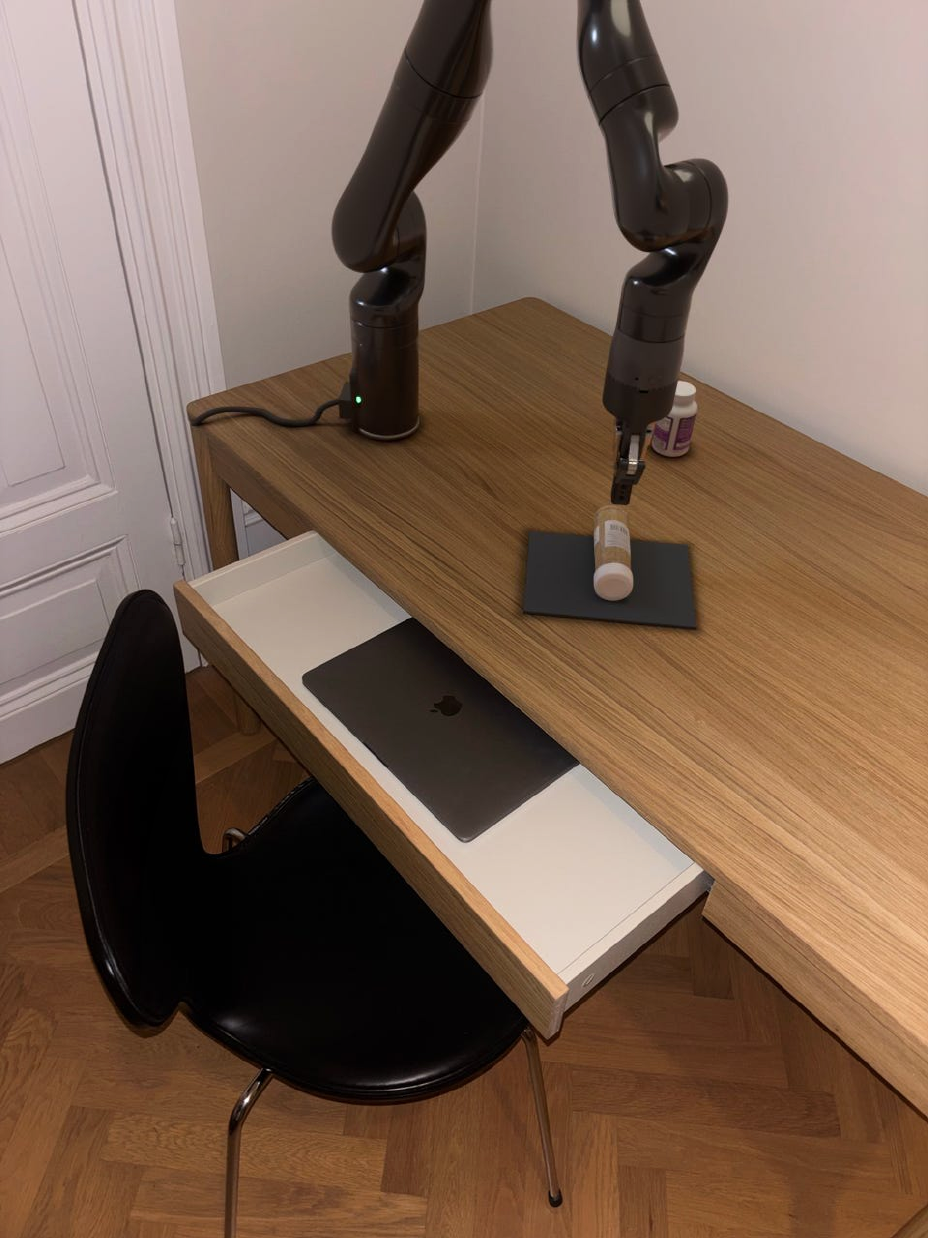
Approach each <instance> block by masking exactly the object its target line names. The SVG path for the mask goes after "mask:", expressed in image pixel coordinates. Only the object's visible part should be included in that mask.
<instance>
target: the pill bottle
mask: <svg viewBox="0 0 928 1238" xmlns="http://www.w3.org/2000/svg"><path fill="white" fill-rule="evenodd" d="M696 394H697V388H696V386H695V385H693V384H692V383H691V382H687V381H684V380H678V383H677V388H676V393H675V398H674V402H673V407H672V410H671V412H670V414H669V415H668V416H667V417H665V418H664V419H662V420H660V421H656V422H654V428H653V431H652V437H651V447H652V448H653V450H654V451H655V452H656V453H658V454H659V455H662V456H665V457H669V458H675V457H681V456H683V455H685V454H687V453H688V451H689V449H690V445H691V441H692V436H693V433H694V428H695V423H696V419H697V414H698V404H697V402H696V400H695V399H696Z"/></svg>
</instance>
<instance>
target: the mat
mask: <svg viewBox="0 0 928 1238" xmlns="http://www.w3.org/2000/svg"><path fill="white" fill-rule="evenodd" d="M527 546H528V548H527V557H526V558H527V559H526V571H525V583H524V596H523V607H522V614H526V615H537V616H538V615H539V616H547V617H559V618H570V619H581V620H590V621H601V622H602V621H604V622H611V623H621V624H633V625H644V626H655V627H667V628H676V629H688V630H697V617H696V609H695V601H694V591H693V582H692V581H693V580H692V571H691V564H690V563H691V562H690V554H689V546H688V544H683V543H669V542H659V541H648V540H635V539H630V551H631V572H632V574H633V589H632V591H631V593H630V594H629V595H628V596H627V597H625V598H623V599H620V600H615V601H611V600H606V599H603V598H601V597H600V596H599V595H598V594H597V593H596V591H595V589H594V574H595V555H594V536H591V535H581V534H580V535H579V534H571V533H570V534H568V533H557V532H547V531H546V532H545V531H536V530H535V531H534V530H529V535H528V545H527Z"/></svg>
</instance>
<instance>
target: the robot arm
mask: <svg viewBox="0 0 928 1238" xmlns="http://www.w3.org/2000/svg"><path fill="white" fill-rule="evenodd" d="M576 1H577V2H576V3H577V5H576V6H577V9H576V11H577V15H576V16H577V17H576V33H575V34H576V35H575V37H576V39H575V40H576V41H575V46H576V47H575V48H576V49H575V51H576V61H577V67H578V72H579V76H580V79H581V83H582V86H583V89H584V92H585V95H586V97H587V101H588V103H589V105H590V107H591V110H592V113H593V115H594V118H595V121H596V124H597V125H598V126H597V127H599V128H598V129H599V131H600V133H601V136H602V137H603V140H604V146H605V147H604V148H605V155H606V165H607V166H606V167H607V172H608V179H609V186H610V187H609V189H610V197H611V204H612V212H613V216H614V219H615V223H616V225H617V228H618V230H619V231H620V233H621V235H622V236H623V238H624V239H625V240H626V241H627V242H628V244H629V245H631V246H632V247H633V248H634V249H636V250H638V251H640V252H642V253H648V254H647V255H646V256H645V257H643V259H641V260H640V261H639V262H637V263H636V264H634V265H633V266H632V267H630V268H629V269H628V270H627V272H626V273H625V275H624V278H623V281H622V284H621V290H620V296H619V303H618V309H617V315H616V317H617V318H616V322H615V326H614V329H613V333H612V336H611V340H610V345H609V352H608V359H607V365H606V371H605V377H604V385H603V391H602V405H603V406H604V409H605V410H606V411H607V412H608V413H609V414H610V415H611V416H613V417H614V418H613V430H614V432H613V440H612V468H613V471H612V472H613V473H612V482H611V487H610V503H611V505H616V506H618V505H621V506H627V505H629V504H630V502H631V498H632V492H633V488H634V487H633V486H637V485H638V484H639V481H640V479H641V477H642V476H643V474H644V471H645V469H646V464H645V463H646V462H645V461H646V460H645V459H646V456H647V455H646V454H647V449H648V447H649V446H650V445H651V443H652V438H653V428H651V425H652V424H653V423H655V422H656V421H660V420H662V419H664V418H665V417H667V416H668V415H669V414H670V412H671V410H672V407H673V402H674V398H675V393H676V388H677V383H678V381H679V378H680V373H681V368H682V365H683V364H682V363H683V360H684V354H685V342H686V333H687V332H686V331H687V327H688V322H689V318H690V313H691V309H692V302H693V296H694V293H695V291H696V289H697V287H698V284H699V282H700V281H701V279H702V277H703V275H704V273H705V271H706V270H707V269H706V268H707V267H708V264H709V263H710V260H711V258H712V256H713V253H714V251H715V249H716V247H717V245H718V244H719V243H718V242H719V241H720V238H721V235H722V234H723V230H724V227H725V224H726V222H727V217H728V212H729V211H728V210H729V201H730V200H729V197H730V196H729V188H728V183H727V180H726V177H725V174H724V173H723V171H722V170H721V168H720V167H719V166H718V165H717V164H716V163H714V162H713V161H712V160H709V159H706V158H701V157H695V158H689V159H684V160H680V161H677V162H672V163H668V164H665V165H664V164H663V163H662V160H661V155H660V154H661V153H660V145H659V144H660V143H661V142H662V141H664V140H666V138H668V137H669V136H670V135H671V134H672V132H673V131H674V130H675V129H676V128H677V125H678V123H679V119H680V112H679V111H680V110H679V105H678V103H677V99H676V97H675V96H676V95H675V93H674V91H673V89H672V86H671V83H670V81H669V77H668V75H667V73H666V71H665V68H664V65H663V62H662V60H661V57H660V54H659V51H658V50H657V46H656V43H655V42H654V38H653V36H652V34H651V30H650V27H649V25H648V21H647V19H646V16H645V12H644V10H643V7H642V2H641V0H576ZM494 37H495V36H494V25H493V0H423V2H422V4H421V7H420V9H419V13H418V15H417V18H416V20H415V21H414V25H413V27H412V29H411V32H410V34H409V36H408V38H407V40H406V42H405V46H404V47H403V51H402V53H401V55H400V58H399V61H398V64H397V66H396V69H395V71H394V74H393V77H392V80H391V83H390V86H389V89H388V91H387V95H386V97H385V100H384V101H383V104H382V107H381V109H380V111H379V113H378V116H377V118H376V122H375V123H374V126H373V129H372V131H371V134H370V137H369V139H368V142H367V144H366V146H365V150H364V151H363V154H362V155H361V158H360V160H359V162H358V164H357V166H356V168H355V170H354V171H353V173H352V175H351V177H350V179H349V181H348V183H347V185H346V186H345V188H344V190H343V192H342V193H341V195H340V197H339V199H338V202H337V203H336V206H335V208H334V210H333V213H332V218H331V222H330V223H331V225H330V237H331V242H332V247H333V249H334V252H335V255H336V257H337V259H338V261H340V263H341V264H342V265H343V266H344V267H346V268H347V269H348V270H350V271H352V272H354V273H358V274H361V275H360V277H359V278H358V280H357V281H356V282H355V283H354V285H353V286H352V287H351V289H350V291H349V294H348V311H349V312H348V313H349V329H350V330H349V331H350V346H351V348H350V349H351V350H350V351H351V365H350V369H349V372H348V381H344V384H343V386H342V389H341V392H340V394H339V396H338V397H337V398H334V399H331V400H328V401H326V402H324V403H322V404H321V405H320V406H319V407H318V408H317V409H316V410H315V413H314V415H313V416H312V417H310V418H307V419H301V420H299V419H289V418H284V417H280V416H277V415H275V414H273V413H271V412H270V411H268V410H267V409H264V408H260V407H253V406H237V405H236V406H235V405H234V406H233V405H230V406H229V405H228V406H220V407H214V408H212V409H208V410H207V411H204V412H203V413H201V414H200V415H198V416H197V417H196V418H195V419H194V420H192V422H191V424H190V426H192V427H196V426H199V425H200V424H201V423H202V422H203V421H205V420H206V419H209V418H210V417H214V416H215V415H219V414H225V413H243V414H256V415H261V416H263V417H265V418H267V419H268V420H270V421H271V422H274V423H276V424H280V425H286V426H292V427H293V426H294V427H306V426H310V425H313V424H315V423H317V422H318V421H319V420H320V419H321V417H322V415H323V413H324V412H325V411H326V410H328V409H330V408H332V407H335V406H338V414H339V415H338V417H339V419H341V420H343V419H344V420H351V430H352V432H353V433H358V434H361V435H362V436H363V437H366V438H368V439H371V440H377V441H384V442H385V441H388V442H389V441H390V442H391V441H396V440H402V439H405V438H408V437H410V436H411V435H413V434H414V433H416V432H417V430H418V429H419V427H420V409H419V407H420V405H419V403H420V402H419V401H420V399H419V398H420V397H419V393H420V392H419V391H420V390H419V389H420V388H419V387H420V386H419V385H420V383H419V378H420V377H419V376H420V375H419V374H420V373H419V372H420V371H419V369H420V367H419V366H420V365H419V363H420V362H419V361H420V359H419V357H420V356H419V355H420V351H419V350H420V349H419V348H420V347H419V345H420V344H419V339H420V335H419V325H420V324H419V317H420V316H419V305H420V301H421V298H422V297H423V294H424V291H425V284H426V271H427V270H426V267H427V251H428V228H427V227H428V226H427V218H426V213H425V210H424V207H423V205H422V204H423V203H422V202H421V200H420V199H421V198H419V196H418V195H417V193H416V192H415V189H416V188H417V186H419V184H420V183H421V182H422V180H423V179H425V177H427V175H428V173H430V171H431V170H432V169H434V167H435V166H436V165H437V164H438V163H439V162H440V160H441V159H442V158H443V157H444V156H445V155H446V154H447V152H448V151H449V150H450V149H451V148H452V147H453V145H454V144H455V143H456V141H457V140H458V139H459V138H460V136H461V135H462V134H463V132H464V130H465V129H466V127H467V125H468V124H469V123H470V120H471V119H472V116H473V114H474V112H475V110H476V108H477V106H478V104H479V102H480V100H481V98H482V96H483V94H484V91H485V90H486V87H487V85H488V82H489V81H490V78H491V74H492V72H493V68H494V60H495V38H494Z"/></svg>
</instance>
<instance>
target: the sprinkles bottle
mask: <svg viewBox="0 0 928 1238" xmlns="http://www.w3.org/2000/svg"><path fill="white" fill-rule="evenodd" d="M629 522H630V516H629V514H628V512H627V510H625V509H624V508H623V507H620V506H618V505H616V504H609V505H605V506H602V507H600V508H599V509H597V511H596V512H595V513H594V515H593V520H592V524H593V529H594V530H593V531H594V532H593V537H594V555H595V574H594V589H595V591H596V593H597V594H598V595H599V596H600V597H601V598H603V599H606V600H611V601H615V600H620V599H623V598H625V597H627V596H628V595H629V594H630V593H631V591H632V589H633V574H632V572H631V551H630V540H631V535H630V530H629V529H630V528H629V524H630V523H629Z"/></svg>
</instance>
